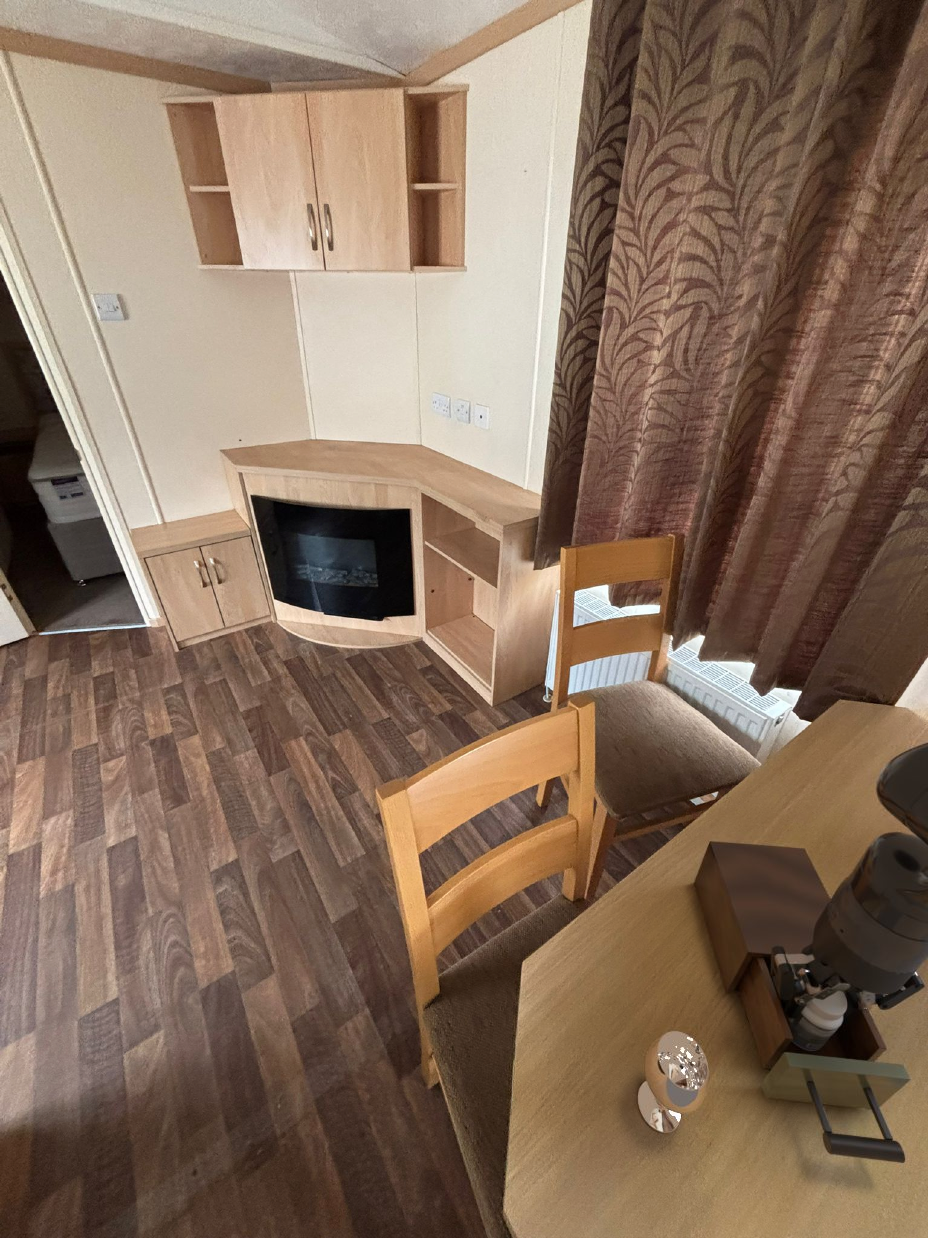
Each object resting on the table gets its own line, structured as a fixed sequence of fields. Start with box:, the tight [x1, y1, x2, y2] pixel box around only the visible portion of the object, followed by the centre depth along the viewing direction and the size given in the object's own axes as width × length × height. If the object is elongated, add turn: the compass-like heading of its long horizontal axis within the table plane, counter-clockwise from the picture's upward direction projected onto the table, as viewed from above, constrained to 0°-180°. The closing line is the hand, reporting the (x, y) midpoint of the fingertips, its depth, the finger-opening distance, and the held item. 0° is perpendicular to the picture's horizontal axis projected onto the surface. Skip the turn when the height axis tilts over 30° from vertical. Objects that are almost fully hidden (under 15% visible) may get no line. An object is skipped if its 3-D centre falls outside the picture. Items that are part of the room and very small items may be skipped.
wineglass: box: [637, 1030, 710, 1134], centre depth 54 cm, size 6×6×12 cm
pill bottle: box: [781, 980, 847, 1051], centre depth 58 cm, size 5×5×8 cm
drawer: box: [738, 956, 911, 1164], centre depth 57 cm, size 19×11×8 cm, turn 175°
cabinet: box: [693, 840, 831, 996], centre depth 69 cm, size 15×13×10 cm
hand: (813, 1010), depth 58 cm, fingers closed on pill bottle, 4 cm apart
